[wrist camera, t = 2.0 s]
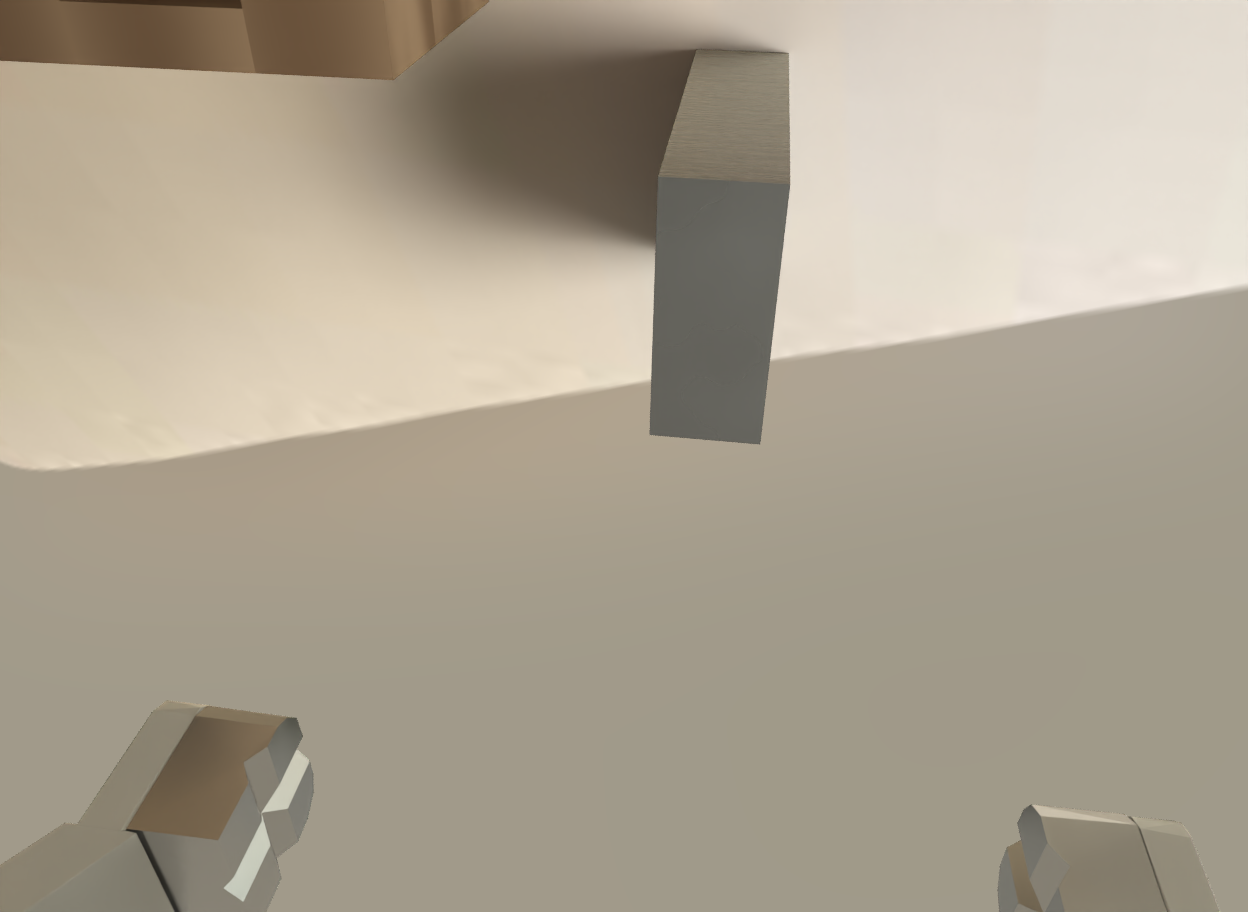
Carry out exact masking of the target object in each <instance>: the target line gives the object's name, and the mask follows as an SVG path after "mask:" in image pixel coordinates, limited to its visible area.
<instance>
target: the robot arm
mask: <svg viewBox="0 0 1248 912" xmlns="http://www.w3.org/2000/svg"><path fill="white" fill-rule="evenodd" d="M302 737H303V735H302V732H301V730H300V727H299V723H298V720H297V718H294V717H286V716H280V715H273V714H265V713H257V712H250V711H243V710H236V709H229V708H221V707H214V706H210V705H202V704H193V703H185V702H177V701H169V700H167V701H165V702H164V703H163V704H162V705H160V706H159V707H158V708H157V709H155V710H154V711H153V712H152V713H151V715H150V716H149V717H148V719H147V720H146V722H145V723H144V725H143V726H142V728H141V729H140V731H139V732H138V734H137V736H136V737H135V738H134V740H133V742H132V743H131V744H130V746H129V747H128V749H127V750H126V752H125V753H124V755H123V756H122V758H121V759H120V761H119V762H118V764H117V765H116V767H115V768H114V770H113V771H112V773H111V774H110V776H109V778H108V779H107V780H106V782H105V783H104V785H103V786H102V788H101V789H100V791H99V792H98V794H97V796H96V797H95V798H94V800H93V802H92V803H91V804H90V806H89V807H88V809H87V810H86V812H85V813H84V815H83V816H82V818H81V819H80V821H79V822H78V824H72V823H64V824H62V825H61V826H59V827H58V828H56V829H55V830H53V831H52V832H50V833H48V834H47V835H45V836H44V837H42V838H41V839H39V840H38V841H36V842H35V843H33V844H32V845H30V846H29V847H27V848H26V849H24V850H23V851H21V852H20V853H18V854H16V855H15V856H13V857H12V858H10V859H9V860H7V861H6V862H4V863H3V864H1V865H0V912H266V911H267V909H268V907H269V904H270V902H271V900H272V898H273V896H274V894H275V891H276V889H277V887H278V885H279V883H280V880H281V874H280V870H279V866H278V862H277V857H278V856H280V855H281V854H282V853H284V852H285V851H286V850H288V849H289V848H290V847H292V846H293V845H294V844H296V843H297V842H298V840H299V838H300V835H301V833H302V831H303V828H304V826H305V824H306V821H307V819H308V815H309V811H310V806H311V802H312V797H313V793H314V785H313V771H312V768H311V763H310V760H308V759H307V758H306V757H305V756H304V755H303V754H301V753H300V752H299V751H298V750H297V747H298V745H299V743H300V741H301V739H302ZM1018 828H1019V833H1020V837H1021V840H1020V841H1018V842H1016V843H1014V844H1012V845H1010V846H1008V847H1007V848H1006V851H1005V854H1004V856H1003V859H1002V862H1001V864H1000V871H999V881H998V903H999V912H1221V911H1220V909H1219V906H1218V904H1217V901H1216V898H1215V896H1214V893H1213V891H1212V888H1211V886H1210V883H1209V880H1208V878H1207V876H1206V873H1205V870H1204V868H1203V865H1202V863H1201V860H1200V858H1199V855H1198V852H1197V850H1196V847H1195V845H1194V843H1193V840H1192V837H1191V835H1190V833H1189V831H1188V830H1187V829H1186V828H1185V827H1184V826H1183V825H1182V824H1181V823H1180V822H1176V821H1172V820H1162V819H1151V818H1141V817H1131V816H1126V815H1125V814H1120V813H1110V812H1101V811H1091V810H1081V809H1071V808H1062V807H1052V806H1042V805H1033V804H1031V805H1029V806H1028V807H1026V808H1025V809H1024V810H1023V812H1022V814H1021V816H1020V819H1019V821H1018Z"/></svg>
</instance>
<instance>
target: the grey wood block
mask: <svg viewBox="0 0 1248 912" xmlns="http://www.w3.org/2000/svg"><path fill="white" fill-rule="evenodd" d="M789 190H790V126H789V53H770V52H747V51H725V50H702V49H697V50H696V53H695V57H694V60H693V63H692V66H691V70H690V73H689V76H688V79H687V83H686V86H685V89H684V93H683V96H682V99H681V102H680V106H679V109H678V112H677V116H676V119H675V122H674V125H673V129H672V132H671V135H670V139H669V142H668V145H667V148H666V152H665V155H664V158H663V161H662V165H661V168H660V171H659V175H658V190H657V221H656V252H655V283H654V314H653V345H652V376H651V408H650V409H651V410H650V435H658V436H669V437H680V438H692V439H703V440H715V441H727V442H738V443H750V444H760V441H761V432H762V424H763V415H764V406H765V398H766V389H767V380H768V371H769V363H770V354H771V346H772V337H773V328H774V320H775V311H776V302H777V294H778V285H779V276H780V268H781V259H782V250H783V242H784V233H785V224H786V216H787V207H788V198H789Z"/></svg>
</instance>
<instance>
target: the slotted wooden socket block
mask: <svg viewBox="0 0 1248 912" xmlns="http://www.w3.org/2000/svg"><path fill="white" fill-rule="evenodd" d="M488 2H489V0H0V61H19V62H39V63H59V64H80V65H100V66H120V67H140V68H161V69H181V70H201V71H222V72H242V73H262V74H282V75H303V76H323V77H343V78H363V79H384V80H394V79H395V78H397V77H398V76H399V75H400V74H401V73H403V72H404V71H405V70H406V69H407V68H409V67H410V66H411V65H412V64H414V63H415V62H416V61H417V60H418V59H420V58H421V57H422V56H423V55H425V54H426V53H427V52H428V51H429V50H431V49H432V48H433V47H434V46H436V45H437V44H438V43H439V42H440V41H442V40H443V39H444V38H445V37H446V36H448V35H449V34H450V33H451V32H453V31H454V30H455V29H456V28H457V27H459V26H460V25H461V24H462V23H464V22H465V21H466V20H467V19H468V18H470V17H471V16H472V15H473V14H474V13H476V12H477V11H478V10H479V9H481V8H482V7H483V6H484V5H485V4H487V3H488Z"/></svg>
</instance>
